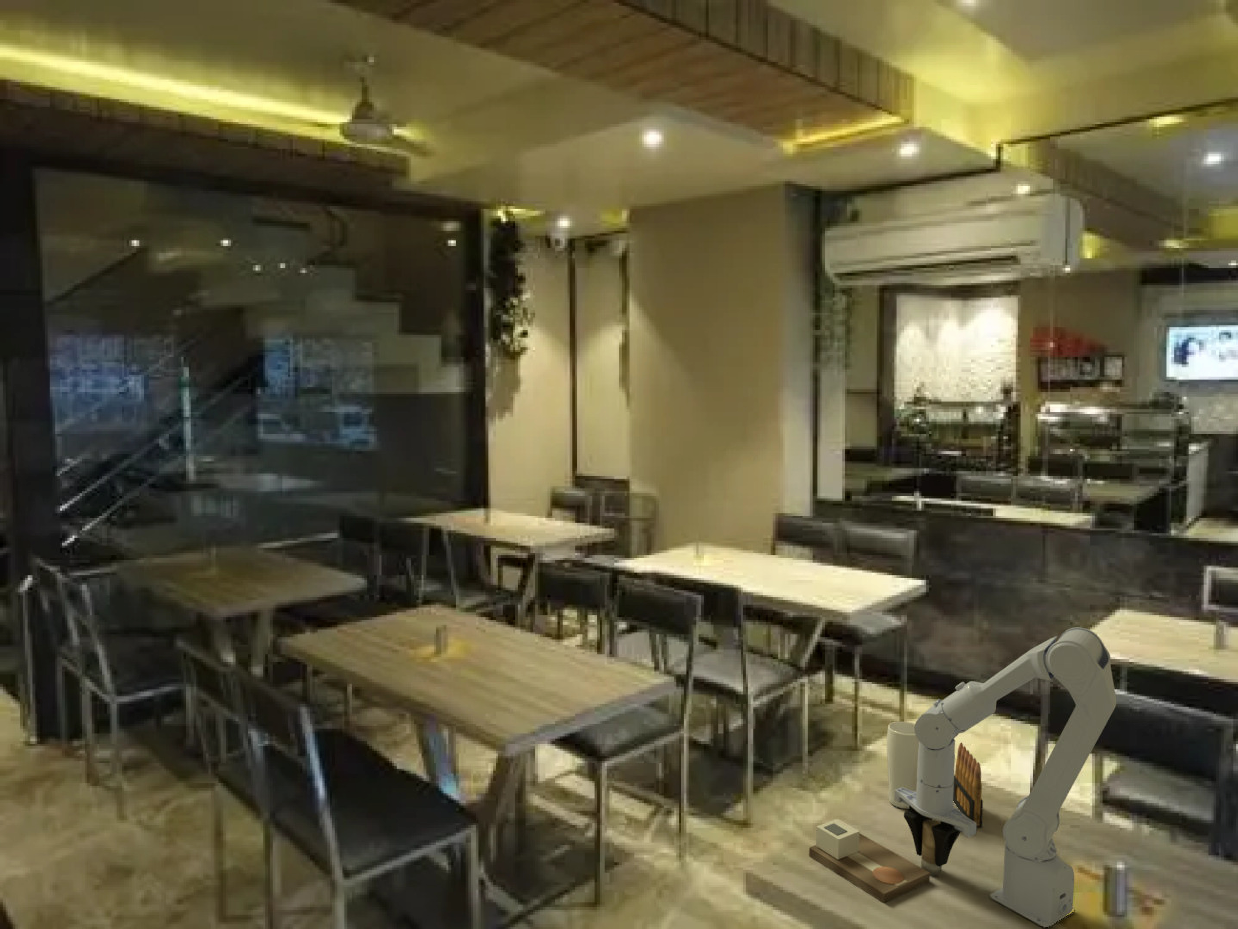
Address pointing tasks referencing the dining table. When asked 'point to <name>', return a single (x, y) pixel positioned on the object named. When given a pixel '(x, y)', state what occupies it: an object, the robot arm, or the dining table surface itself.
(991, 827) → the dining table surface
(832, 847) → the block
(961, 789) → the ammunition clip
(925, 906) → the dining table surface
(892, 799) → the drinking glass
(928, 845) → the brown upright cylinder
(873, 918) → the dining table surface
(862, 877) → the board
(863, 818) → the dining table surface
